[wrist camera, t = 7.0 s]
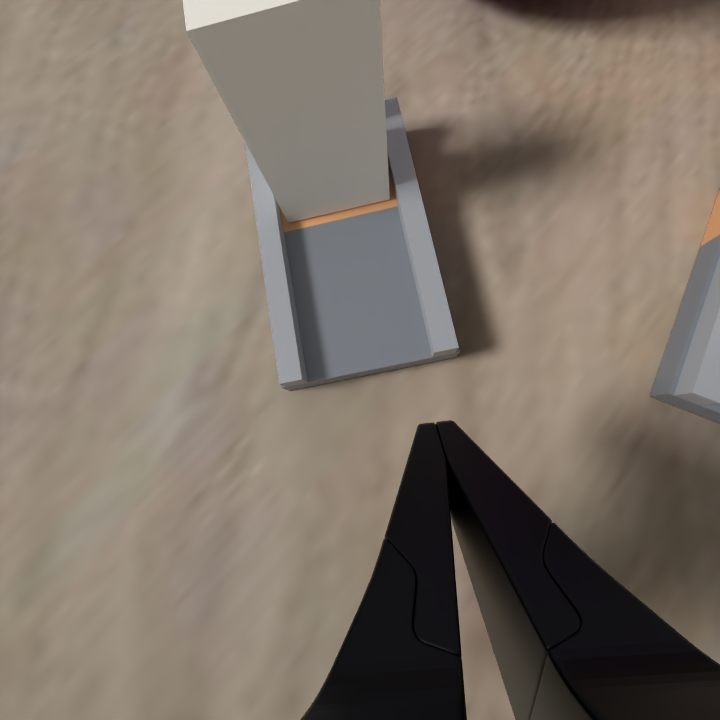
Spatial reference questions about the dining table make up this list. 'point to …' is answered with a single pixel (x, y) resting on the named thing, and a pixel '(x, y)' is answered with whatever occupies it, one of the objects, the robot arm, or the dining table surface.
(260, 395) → the dining table surface
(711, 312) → the grey holder stand
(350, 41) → the white rectangular block
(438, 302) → the rail
